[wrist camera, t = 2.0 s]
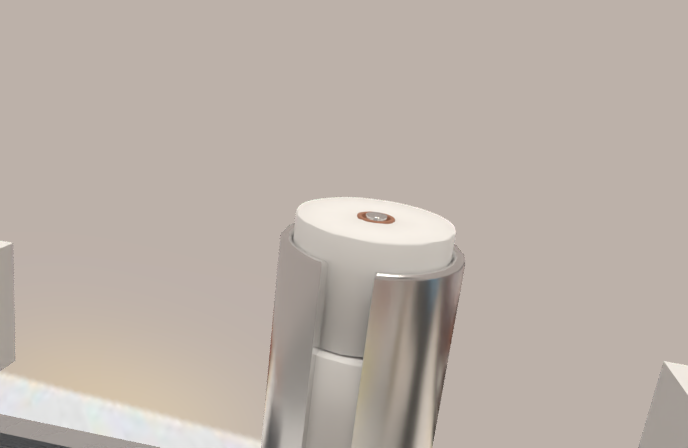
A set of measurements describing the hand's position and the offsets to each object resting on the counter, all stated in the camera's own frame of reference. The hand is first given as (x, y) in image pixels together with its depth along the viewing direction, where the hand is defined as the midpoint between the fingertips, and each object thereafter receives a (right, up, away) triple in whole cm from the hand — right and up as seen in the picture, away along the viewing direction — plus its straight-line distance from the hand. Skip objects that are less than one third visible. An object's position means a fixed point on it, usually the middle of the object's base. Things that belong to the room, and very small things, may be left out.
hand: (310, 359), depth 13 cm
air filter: (-1, -21, +16) cm, 27 cm away
